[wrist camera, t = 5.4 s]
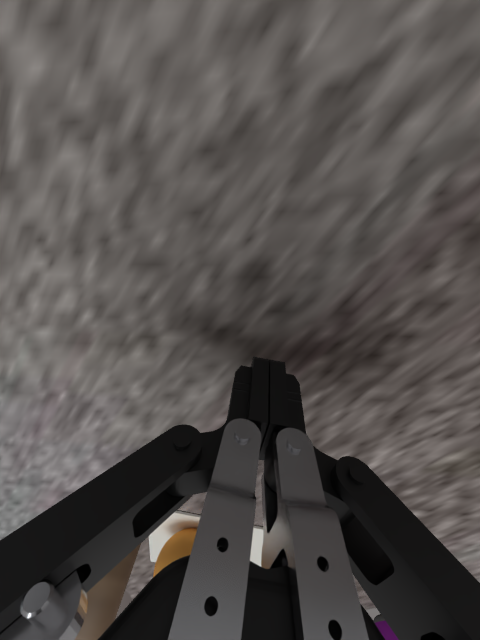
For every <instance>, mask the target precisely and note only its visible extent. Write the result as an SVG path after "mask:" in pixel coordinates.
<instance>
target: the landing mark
mask: <svg viewBox="0 0 480 640" xmlns="http://www.w3.org/2000/svg"><path fill="white" fill-rule="evenodd" d="M200 517H201V515H197V514H192V513H187V512H182V511H175V512H174V513H173V514H172V515H171V516H170V517H169V518H168V519H167V520H165V521H164V522H163V523H162V524H161V525H160V526H159V527H158V528H157V529H156V530H155V531H153V532H152V533H151V534H150V535H149V545H150V559H151V561H152V562H156V561H157V558H158V555H159V553H160V551H161V549H162V548H163V546H164V545H165V543H166V542H167V541H168V540H169V539H170V538H171V537H172V536H173V535H174V534H176V533H177V532H179V531H181V530H183V529H187V528H198V524H199V520H200ZM262 546H263V527H260V526H255V525H254V527H253V536H252V545H251V554H250V561H252V562H253V563H255V564H257V565H259V566H261V555H262Z"/></svg>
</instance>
